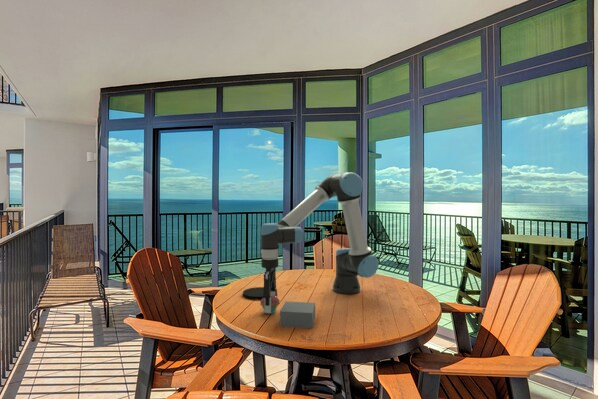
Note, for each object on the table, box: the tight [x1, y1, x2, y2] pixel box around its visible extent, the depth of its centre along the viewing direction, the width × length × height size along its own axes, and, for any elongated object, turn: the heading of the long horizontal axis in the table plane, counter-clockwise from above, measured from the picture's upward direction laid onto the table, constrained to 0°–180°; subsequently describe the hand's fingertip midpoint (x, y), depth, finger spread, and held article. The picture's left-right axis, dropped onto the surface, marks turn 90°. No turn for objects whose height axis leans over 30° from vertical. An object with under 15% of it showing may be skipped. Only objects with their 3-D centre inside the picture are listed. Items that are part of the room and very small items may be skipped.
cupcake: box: [259, 295, 280, 315], centre depth 152 cm, size 9×8×12 cm
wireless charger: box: [242, 286, 278, 301], centre depth 179 cm, size 18×18×2 cm
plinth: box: [279, 300, 316, 329], centre depth 141 cm, size 13×13×6 cm
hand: (270, 309), depth 152 cm, fingers closed on cupcake, 8 cm apart
